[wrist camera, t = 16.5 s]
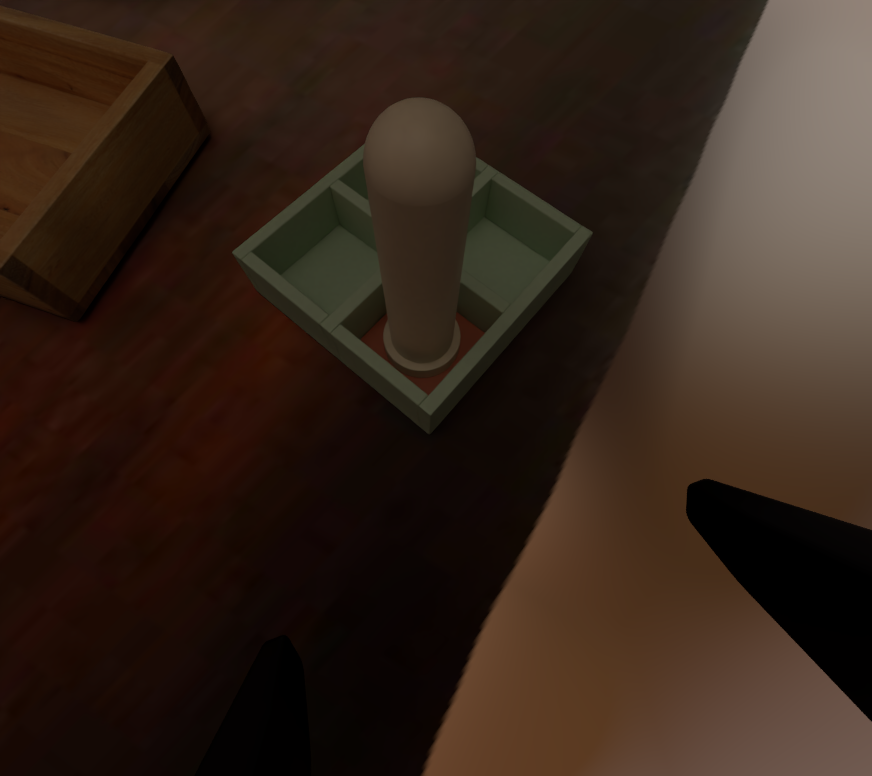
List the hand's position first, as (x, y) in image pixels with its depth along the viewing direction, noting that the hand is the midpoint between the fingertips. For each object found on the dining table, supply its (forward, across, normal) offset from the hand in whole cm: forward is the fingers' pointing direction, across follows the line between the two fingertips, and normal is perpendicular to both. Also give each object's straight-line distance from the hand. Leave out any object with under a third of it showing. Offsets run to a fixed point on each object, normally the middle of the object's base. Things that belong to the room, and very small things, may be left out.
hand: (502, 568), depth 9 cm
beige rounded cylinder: (+16, -2, 0) cm, 16 cm away
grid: (+19, -3, -2) cm, 20 cm away
